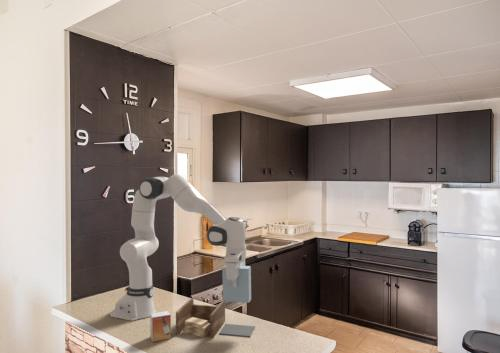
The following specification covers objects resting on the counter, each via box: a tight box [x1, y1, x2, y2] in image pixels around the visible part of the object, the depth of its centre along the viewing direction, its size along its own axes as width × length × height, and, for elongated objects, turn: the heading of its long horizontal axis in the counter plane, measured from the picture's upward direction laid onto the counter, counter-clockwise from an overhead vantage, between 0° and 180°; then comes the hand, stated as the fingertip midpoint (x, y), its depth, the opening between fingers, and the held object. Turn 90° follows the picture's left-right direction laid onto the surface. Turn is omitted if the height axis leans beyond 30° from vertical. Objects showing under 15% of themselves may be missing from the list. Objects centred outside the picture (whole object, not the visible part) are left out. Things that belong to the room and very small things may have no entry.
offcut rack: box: [175, 297, 226, 339], centre depth 167 cm, size 17×18×10 cm
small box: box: [149, 310, 172, 343], centre depth 158 cm, size 8×6×10 cm
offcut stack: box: [182, 317, 211, 338], centre depth 163 cm, size 11×6×5 cm, turn 66°
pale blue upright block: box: [221, 264, 252, 304], centre depth 163 cm, size 12×4×15 cm, turn 77°
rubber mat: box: [218, 323, 256, 338], centre depth 164 cm, size 14×10×1 cm
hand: (236, 284), depth 163 cm, fingers closed on pale blue upright block, 4 cm apart
